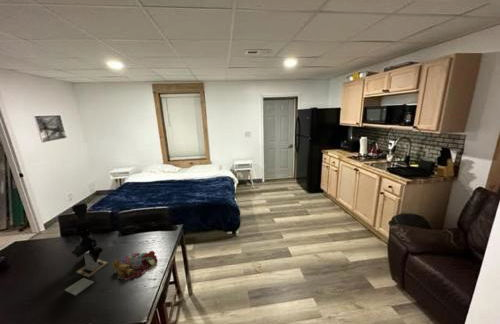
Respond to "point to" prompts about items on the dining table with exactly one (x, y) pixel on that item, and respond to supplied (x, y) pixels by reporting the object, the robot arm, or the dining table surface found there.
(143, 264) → the candy landscape model
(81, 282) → the ceramic coaster
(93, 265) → the skincare box
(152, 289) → the dining table surface
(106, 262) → the frame
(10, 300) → the dining table surface
